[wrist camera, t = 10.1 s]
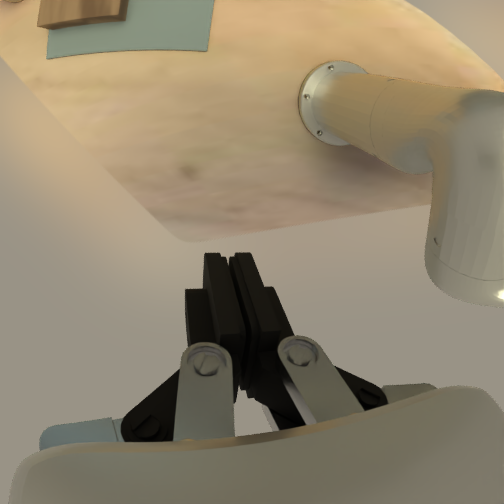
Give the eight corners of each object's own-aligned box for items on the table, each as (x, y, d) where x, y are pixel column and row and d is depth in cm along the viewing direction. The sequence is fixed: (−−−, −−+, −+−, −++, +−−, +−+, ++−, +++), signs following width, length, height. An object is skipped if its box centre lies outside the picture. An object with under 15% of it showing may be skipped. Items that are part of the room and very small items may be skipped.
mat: (219, -36, 26) (220, -38, 26) (206, 51, 33) (207, 51, 32) (60, -28, 21) (59, -29, 21) (48, 59, 28) (46, 59, 27)
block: (124, -25, 21) (42, -12, 19) (118, 14, 24) (36, 26, 21) (131, -14, 25) (57, -4, 23) (125, 21, 28) (51, 30, 25)
